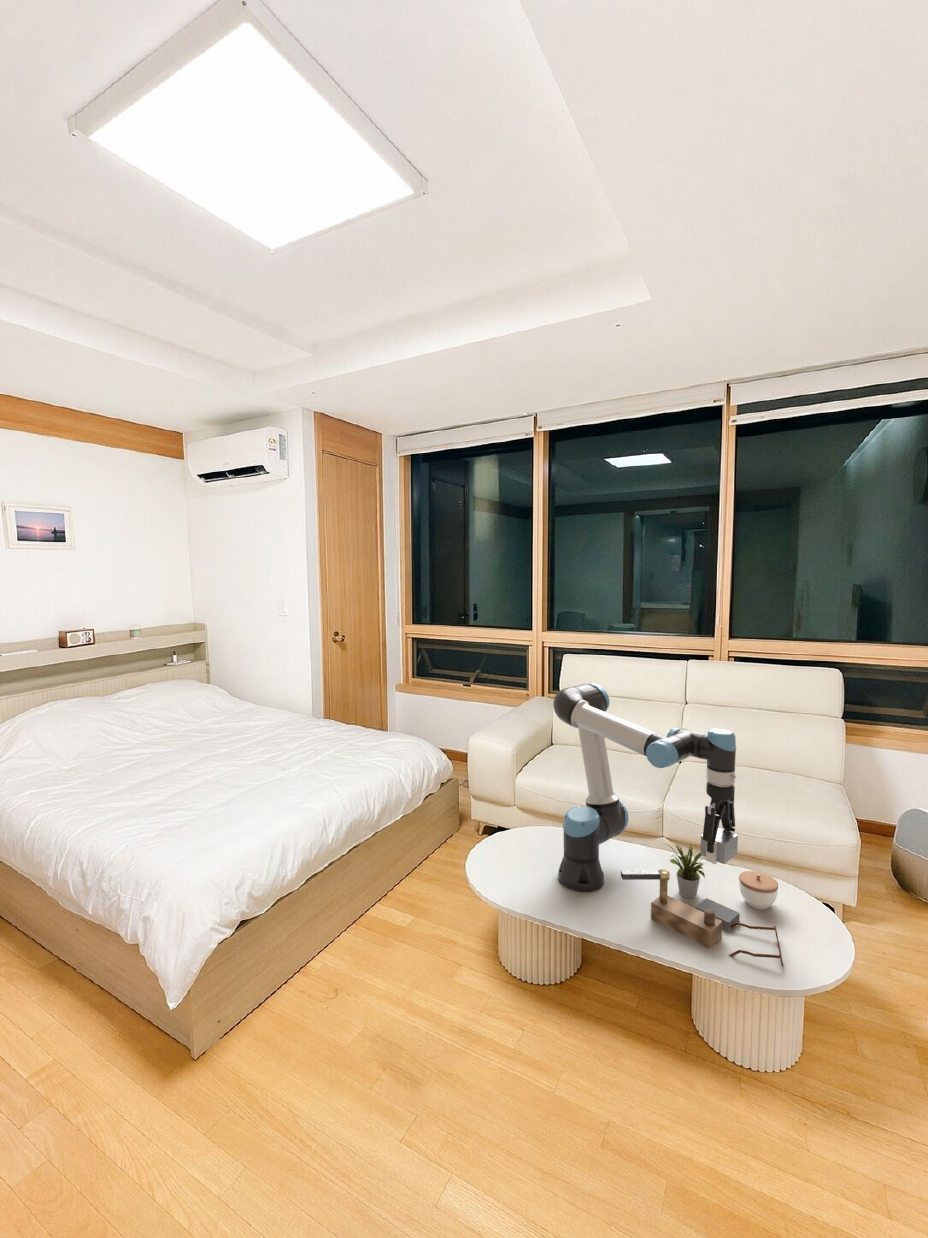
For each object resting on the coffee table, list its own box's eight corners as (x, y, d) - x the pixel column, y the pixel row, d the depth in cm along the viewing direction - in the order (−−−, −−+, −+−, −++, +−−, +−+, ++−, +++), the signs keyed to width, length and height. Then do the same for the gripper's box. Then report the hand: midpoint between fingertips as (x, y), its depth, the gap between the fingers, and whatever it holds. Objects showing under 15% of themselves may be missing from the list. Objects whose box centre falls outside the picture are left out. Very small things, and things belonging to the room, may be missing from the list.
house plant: (656, 899, 175) (657, 849, 174) (663, 877, 188) (664, 831, 186) (705, 911, 169) (707, 860, 167) (709, 888, 181) (710, 840, 180)
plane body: (650, 918, 166) (651, 880, 165) (663, 909, 170) (663, 871, 169) (710, 949, 152) (711, 907, 151) (721, 937, 156) (722, 897, 155)
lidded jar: (772, 918, 165) (773, 888, 164) (733, 904, 172) (734, 875, 171) (781, 902, 173) (782, 874, 172) (744, 889, 180) (745, 862, 179)
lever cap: (700, 855, 164) (700, 835, 163) (713, 845, 169) (714, 826, 168) (724, 864, 158) (724, 844, 158) (737, 854, 164) (737, 834, 163)
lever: (667, 874, 167) (667, 869, 167) (671, 880, 164) (671, 875, 164) (620, 875, 167) (620, 869, 167) (623, 880, 164) (623, 875, 164)
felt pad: (695, 915, 167) (695, 907, 167) (706, 905, 171) (706, 898, 171) (728, 931, 159) (729, 922, 159) (739, 921, 164) (739, 913, 164)
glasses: (784, 971, 144) (784, 953, 143) (728, 957, 149) (729, 940, 149) (778, 940, 156) (778, 923, 155) (726, 928, 161) (727, 912, 161)
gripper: (716, 796, 152) (714, 875, 154) (749, 777, 166) (747, 849, 168) (690, 788, 158) (688, 864, 160) (724, 770, 172) (722, 840, 173)
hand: (718, 856), depth 164 cm, fingers closed on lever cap, 8 cm apart
